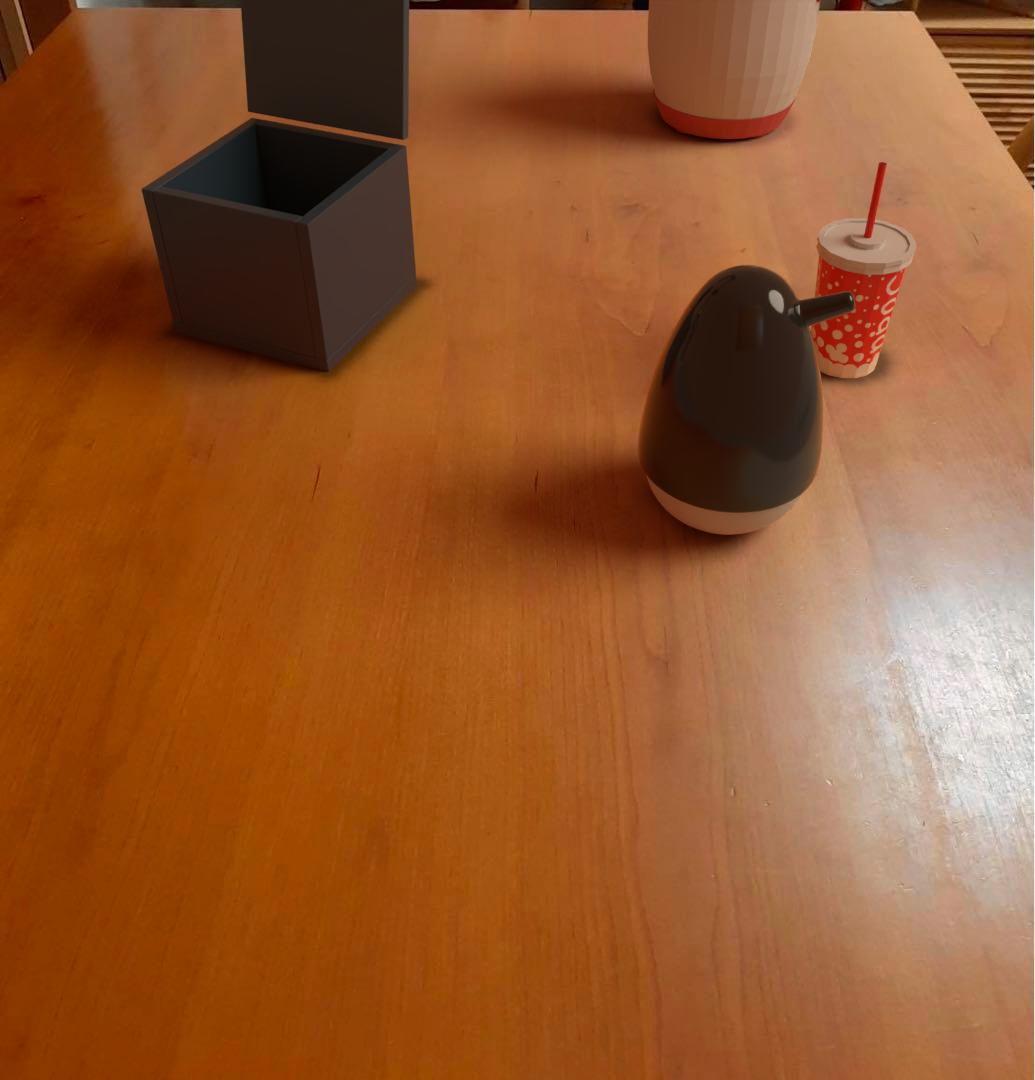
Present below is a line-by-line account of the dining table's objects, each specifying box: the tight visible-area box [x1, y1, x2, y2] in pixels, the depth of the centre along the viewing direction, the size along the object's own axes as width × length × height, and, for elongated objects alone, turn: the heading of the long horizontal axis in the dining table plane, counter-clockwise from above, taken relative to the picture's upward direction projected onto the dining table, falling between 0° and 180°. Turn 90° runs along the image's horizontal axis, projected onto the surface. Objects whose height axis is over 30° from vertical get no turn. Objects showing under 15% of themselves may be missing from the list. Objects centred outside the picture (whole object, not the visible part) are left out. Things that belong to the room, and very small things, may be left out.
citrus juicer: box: [647, 0, 822, 140], centre depth 104 cm, size 16×17×20 cm
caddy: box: [141, 117, 418, 373], centre depth 82 cm, size 13×13×11 cm
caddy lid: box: [240, 0, 410, 141], centre depth 79 cm, size 14×13×1 cm
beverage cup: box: [810, 161, 918, 379], centre depth 75 cm, size 6×6×14 cm
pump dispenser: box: [637, 264, 855, 536], centre depth 63 cm, size 10×10×15 cm
